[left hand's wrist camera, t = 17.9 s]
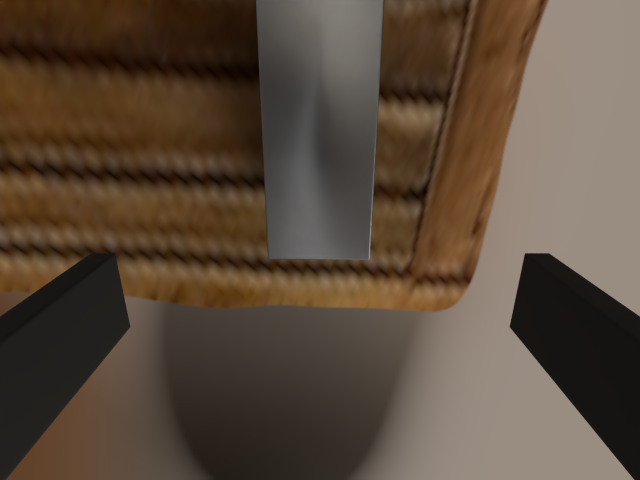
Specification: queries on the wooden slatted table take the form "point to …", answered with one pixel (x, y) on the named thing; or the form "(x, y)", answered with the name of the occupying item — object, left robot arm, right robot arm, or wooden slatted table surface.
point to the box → (319, 124)
